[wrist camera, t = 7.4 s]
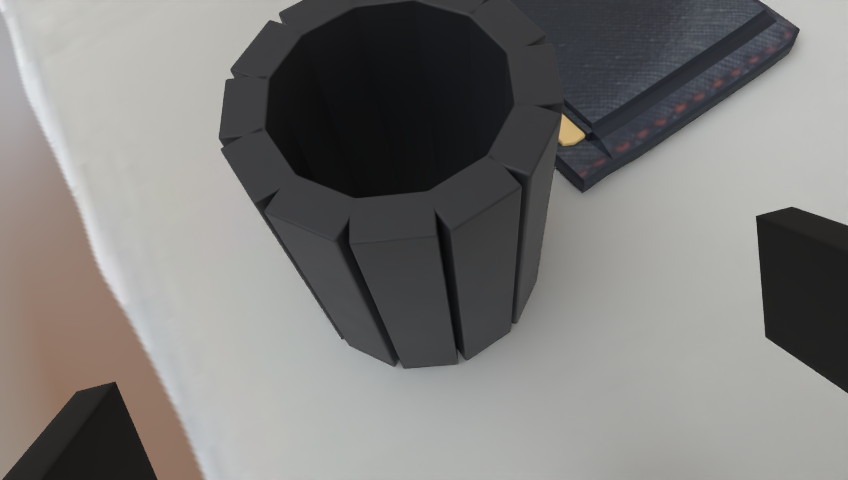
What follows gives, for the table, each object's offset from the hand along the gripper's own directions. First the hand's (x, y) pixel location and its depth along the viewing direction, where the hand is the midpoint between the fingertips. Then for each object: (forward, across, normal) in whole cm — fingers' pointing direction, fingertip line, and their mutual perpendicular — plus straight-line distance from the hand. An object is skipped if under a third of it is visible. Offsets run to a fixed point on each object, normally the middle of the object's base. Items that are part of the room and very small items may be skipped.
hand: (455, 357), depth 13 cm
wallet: (+25, +11, +6) cm, 28 cm away
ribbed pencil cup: (+16, 0, -3) cm, 16 cm away
